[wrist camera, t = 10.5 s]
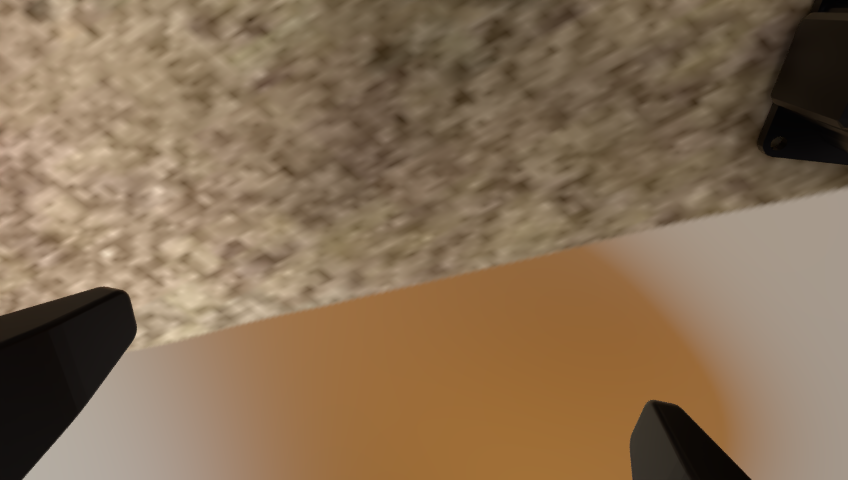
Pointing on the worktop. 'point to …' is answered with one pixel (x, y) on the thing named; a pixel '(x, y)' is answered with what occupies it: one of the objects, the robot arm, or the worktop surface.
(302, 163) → the worktop surface
